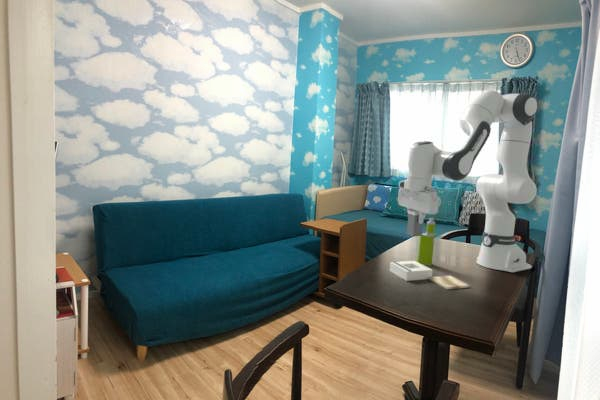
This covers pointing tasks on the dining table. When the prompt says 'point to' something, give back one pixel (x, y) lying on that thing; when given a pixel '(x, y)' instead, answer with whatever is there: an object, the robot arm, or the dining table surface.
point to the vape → (427, 244)
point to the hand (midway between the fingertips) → (415, 221)
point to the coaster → (449, 282)
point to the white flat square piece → (410, 270)
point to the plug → (414, 224)
